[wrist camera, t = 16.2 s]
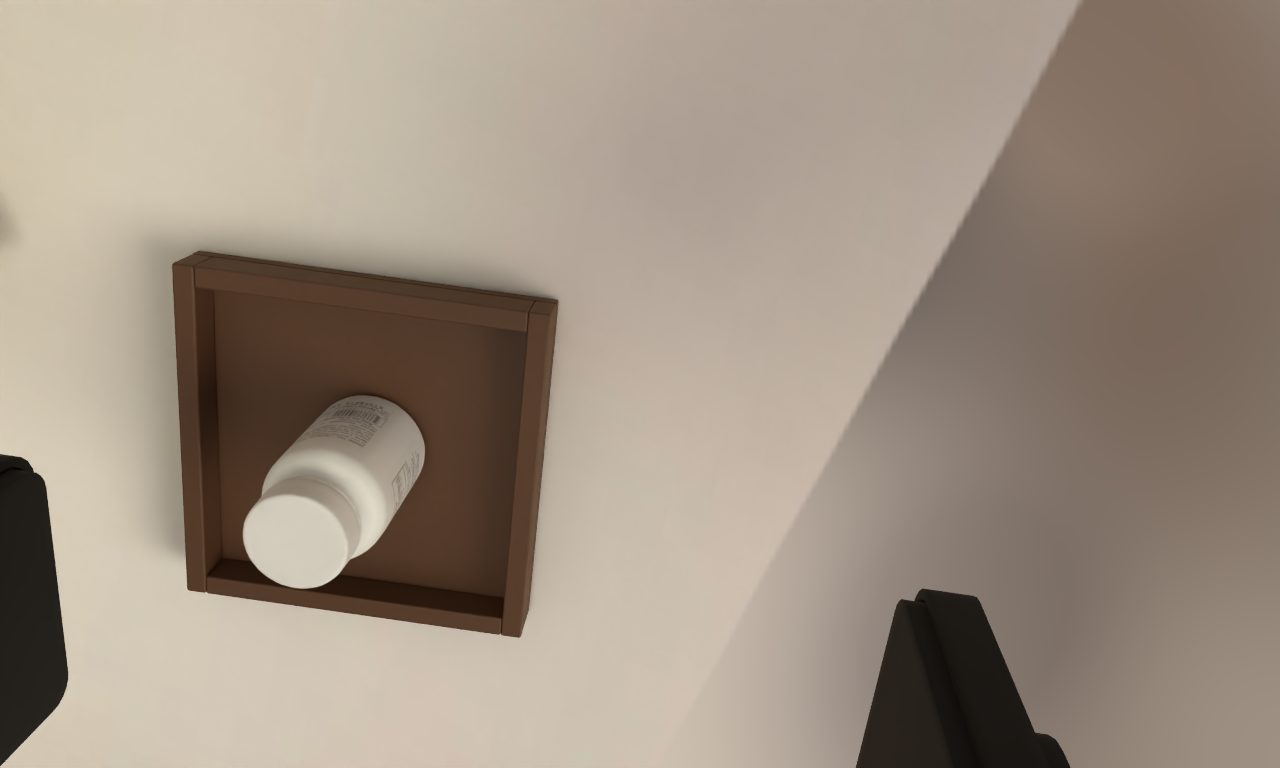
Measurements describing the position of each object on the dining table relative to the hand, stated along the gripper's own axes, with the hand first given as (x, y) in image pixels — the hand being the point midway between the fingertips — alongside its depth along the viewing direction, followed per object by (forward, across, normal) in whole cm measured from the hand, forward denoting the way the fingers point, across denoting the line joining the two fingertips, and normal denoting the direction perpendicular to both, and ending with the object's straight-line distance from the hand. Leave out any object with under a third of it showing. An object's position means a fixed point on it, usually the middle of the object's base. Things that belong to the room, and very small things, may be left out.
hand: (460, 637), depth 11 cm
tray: (+26, +10, +11) cm, 30 cm away
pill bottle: (+25, +10, +11) cm, 29 cm away
